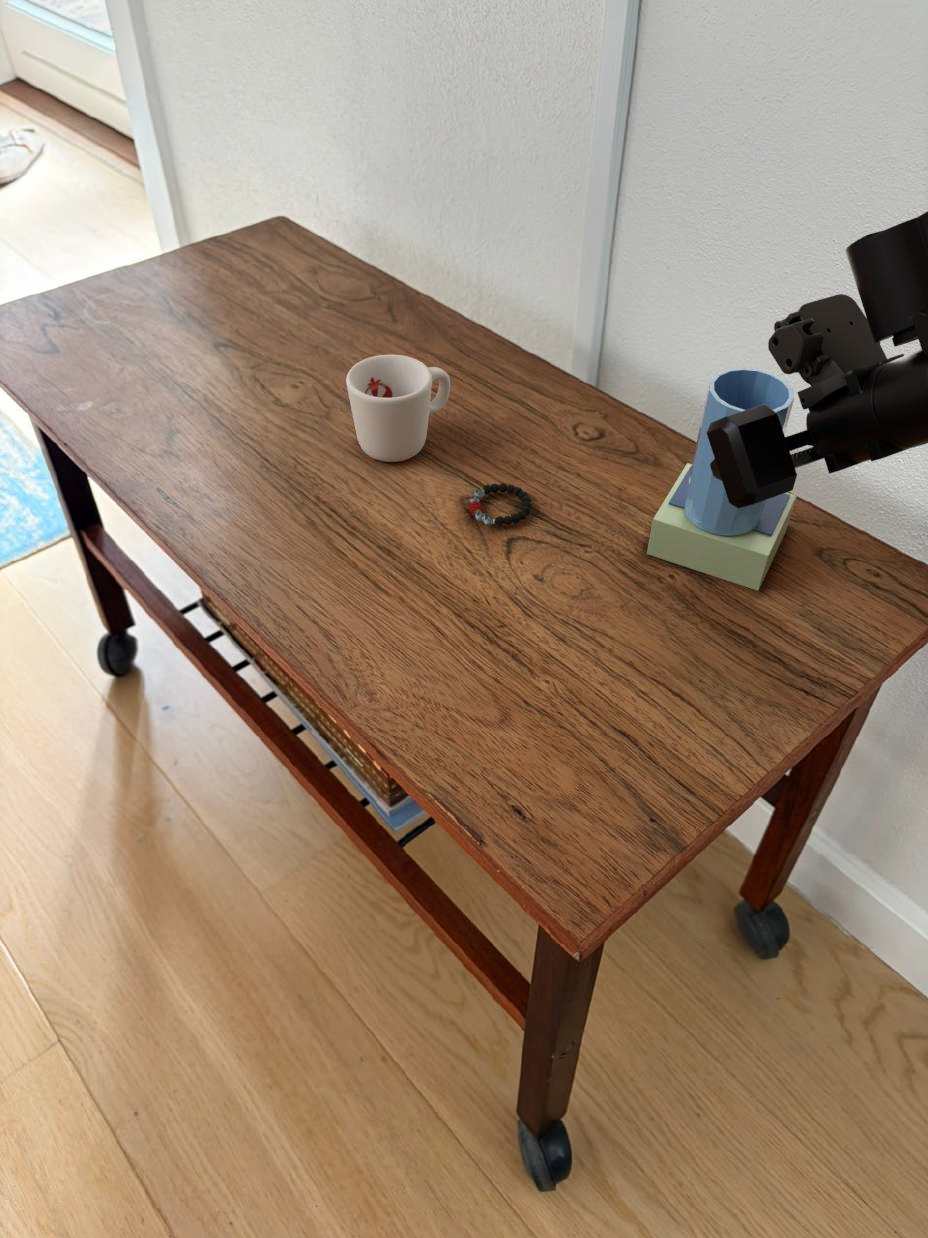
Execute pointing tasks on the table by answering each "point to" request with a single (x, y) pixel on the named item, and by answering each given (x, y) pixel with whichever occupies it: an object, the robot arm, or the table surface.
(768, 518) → the box
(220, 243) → the table surface
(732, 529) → the blue hollow cylinder
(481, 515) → the bracelet
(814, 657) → the table surface
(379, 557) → the table surface
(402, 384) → the cup
